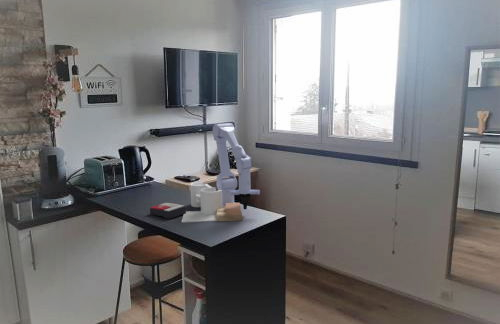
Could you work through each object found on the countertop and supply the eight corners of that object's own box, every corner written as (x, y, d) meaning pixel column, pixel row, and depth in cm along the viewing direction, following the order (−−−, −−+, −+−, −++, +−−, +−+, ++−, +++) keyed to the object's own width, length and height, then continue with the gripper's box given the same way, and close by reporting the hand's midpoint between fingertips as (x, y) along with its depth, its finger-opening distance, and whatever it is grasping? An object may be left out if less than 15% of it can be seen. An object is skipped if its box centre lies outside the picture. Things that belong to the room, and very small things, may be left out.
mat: (184, 212, 203) (184, 211, 203) (217, 211, 204) (217, 210, 204) (181, 222, 187) (181, 221, 187) (216, 221, 188) (216, 220, 188)
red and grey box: (166, 201, 208) (185, 204, 199) (167, 209, 209) (186, 212, 200) (149, 207, 200) (168, 210, 191) (150, 215, 201) (169, 218, 191)
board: (217, 211, 204) (216, 206, 203) (240, 210, 205) (240, 205, 204) (216, 221, 188) (216, 216, 188) (242, 220, 189) (242, 215, 189)
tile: (225, 207, 201) (225, 203, 200) (239, 207, 201) (239, 202, 201) (226, 213, 191) (226, 208, 191) (240, 213, 192) (240, 208, 191)
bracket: (187, 205, 218) (186, 183, 215) (204, 202, 222) (203, 181, 220) (205, 217, 196) (205, 193, 194) (223, 214, 201) (223, 190, 199)
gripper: (229, 184, 190) (230, 211, 192) (260, 183, 191) (260, 210, 193) (229, 180, 197) (230, 207, 199) (258, 180, 198) (259, 206, 200)
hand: (245, 208), depth 197 cm, fingers closed
